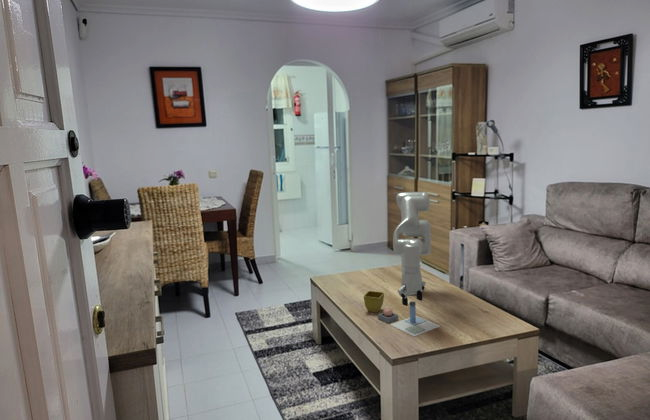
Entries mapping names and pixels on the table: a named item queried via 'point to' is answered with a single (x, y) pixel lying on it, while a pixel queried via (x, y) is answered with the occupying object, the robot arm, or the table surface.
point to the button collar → (388, 319)
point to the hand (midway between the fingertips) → (412, 302)
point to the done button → (388, 312)
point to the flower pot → (373, 301)
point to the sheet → (415, 326)
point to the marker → (412, 312)
